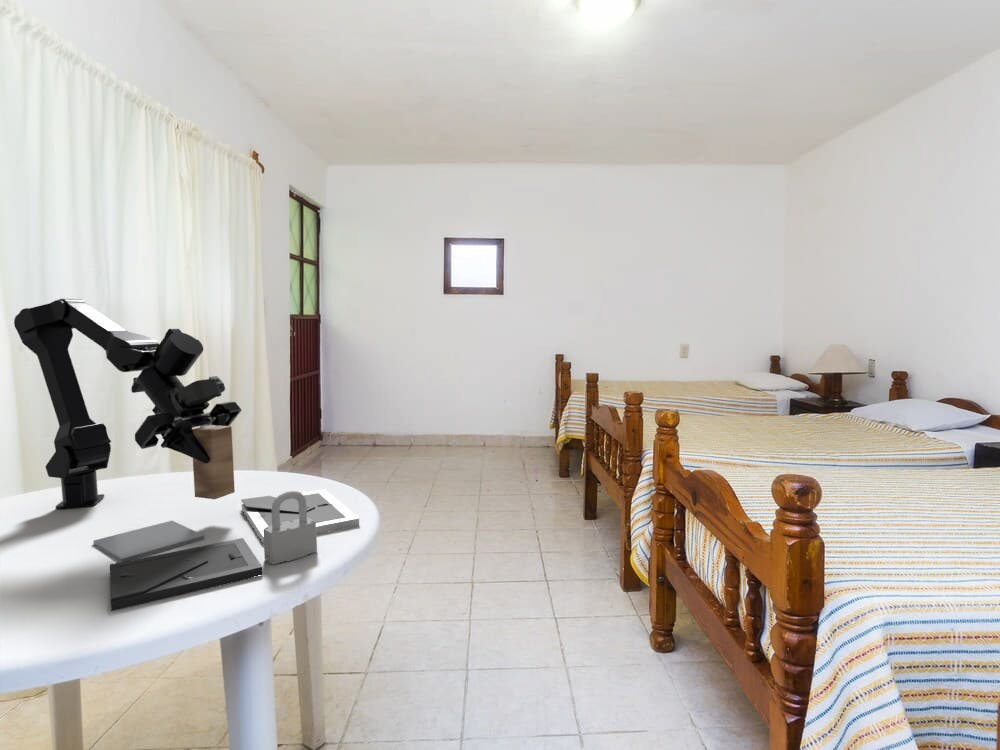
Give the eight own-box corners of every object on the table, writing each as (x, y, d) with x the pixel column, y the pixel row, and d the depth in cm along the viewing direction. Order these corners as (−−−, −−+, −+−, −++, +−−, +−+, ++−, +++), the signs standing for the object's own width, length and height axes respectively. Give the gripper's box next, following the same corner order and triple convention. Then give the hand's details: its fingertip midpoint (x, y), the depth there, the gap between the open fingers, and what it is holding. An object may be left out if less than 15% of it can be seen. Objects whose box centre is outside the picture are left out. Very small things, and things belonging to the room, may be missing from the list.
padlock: (274, 567, 86) (270, 499, 85) (262, 559, 89) (259, 494, 88) (319, 553, 91) (316, 489, 90) (307, 546, 94) (304, 484, 93)
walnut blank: (194, 496, 104) (191, 429, 102) (215, 489, 108) (211, 424, 107) (214, 499, 102) (211, 430, 101) (234, 492, 106) (231, 426, 105)
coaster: (93, 544, 95) (93, 540, 95) (172, 523, 104) (172, 520, 104) (122, 562, 88) (121, 558, 88) (204, 538, 97) (204, 535, 97)
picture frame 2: (242, 513, 112) (263, 549, 94) (241, 499, 112) (262, 532, 94) (325, 499, 120) (359, 529, 103) (324, 486, 120) (358, 513, 102)
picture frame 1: (111, 616, 73) (263, 579, 83) (110, 599, 73) (262, 564, 83) (110, 577, 84) (243, 549, 94) (108, 562, 84) (243, 535, 94)
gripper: (142, 366, 95) (199, 438, 93) (231, 359, 113) (280, 419, 110) (110, 412, 99) (164, 483, 96) (201, 398, 116) (248, 458, 114)
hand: (219, 458), depth 104 cm, fingers closed on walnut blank, 4 cm apart
